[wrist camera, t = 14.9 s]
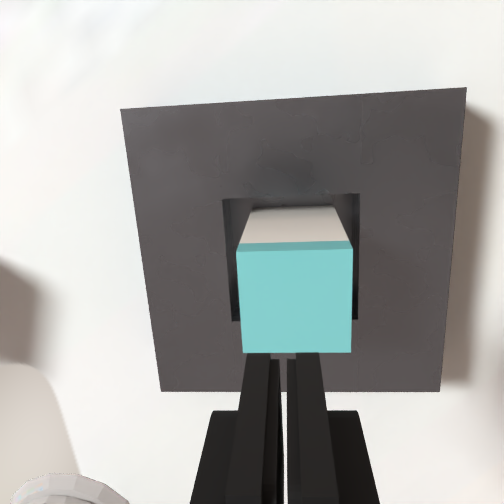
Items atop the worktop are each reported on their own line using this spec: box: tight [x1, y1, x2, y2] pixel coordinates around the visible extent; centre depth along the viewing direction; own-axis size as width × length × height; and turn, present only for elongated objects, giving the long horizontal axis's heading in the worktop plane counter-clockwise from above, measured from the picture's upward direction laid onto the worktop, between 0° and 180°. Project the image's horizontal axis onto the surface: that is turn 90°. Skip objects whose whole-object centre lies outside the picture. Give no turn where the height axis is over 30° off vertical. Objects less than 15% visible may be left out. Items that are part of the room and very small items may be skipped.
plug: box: [236, 205, 353, 353], centre depth 19 cm, size 4×4×7 cm
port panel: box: [120, 87, 467, 392], centre depth 21 cm, size 14×14×3 cm
